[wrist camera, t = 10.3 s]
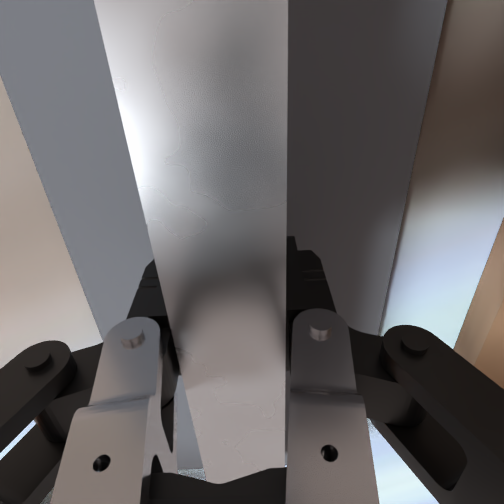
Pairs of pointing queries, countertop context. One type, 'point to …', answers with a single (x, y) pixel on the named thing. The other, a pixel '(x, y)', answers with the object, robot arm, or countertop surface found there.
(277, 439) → the steel rail
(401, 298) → the countertop surface
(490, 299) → the walnut rack
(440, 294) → the countertop surface
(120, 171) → the grey long flat board
